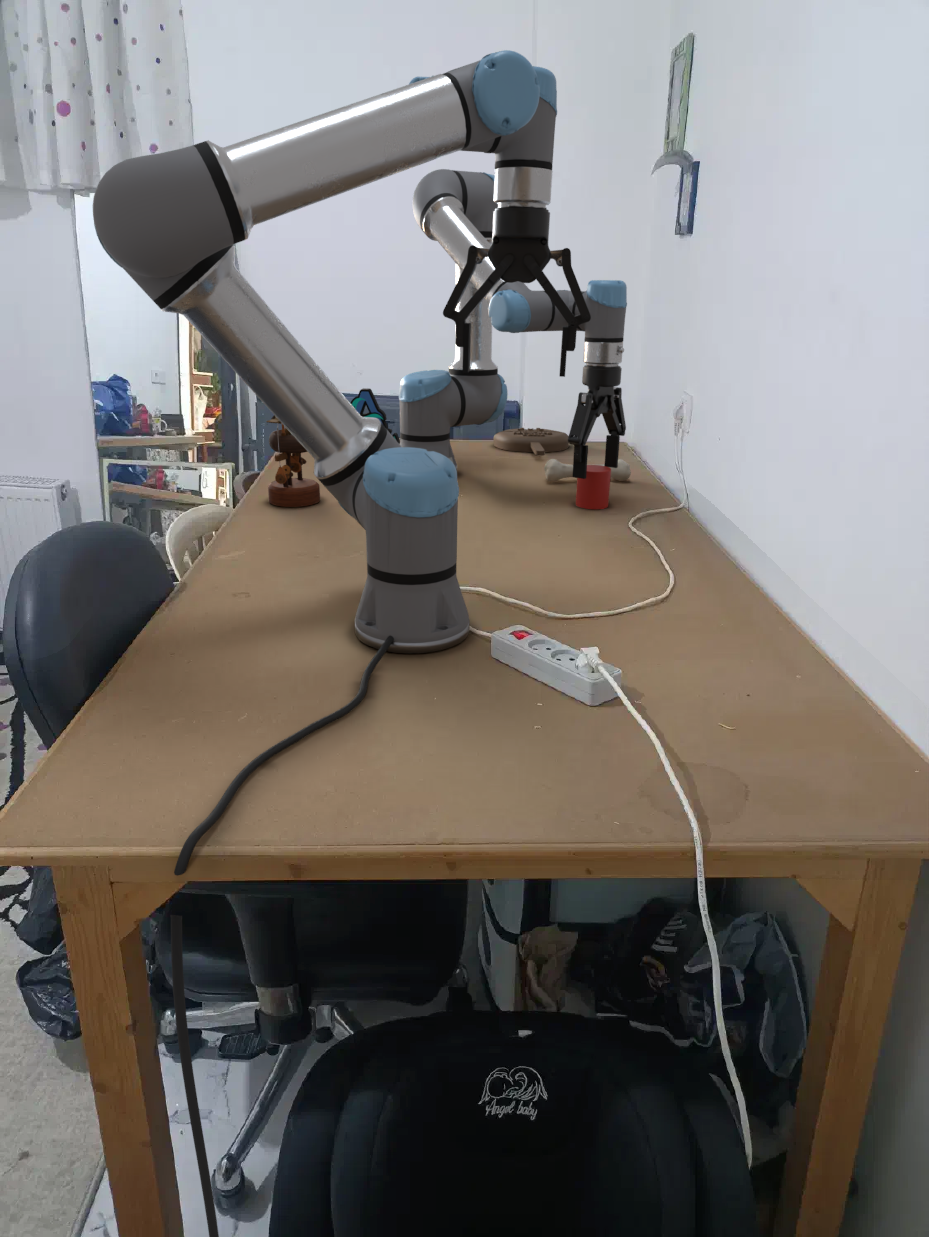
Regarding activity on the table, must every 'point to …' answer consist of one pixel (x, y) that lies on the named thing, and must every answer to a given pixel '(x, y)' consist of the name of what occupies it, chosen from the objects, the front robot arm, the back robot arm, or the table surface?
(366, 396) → the decorative sign
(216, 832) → the table surface
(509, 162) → the front robot arm
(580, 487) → the canister
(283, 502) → the music box
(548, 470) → the dog toy
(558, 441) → the ice cream bar
